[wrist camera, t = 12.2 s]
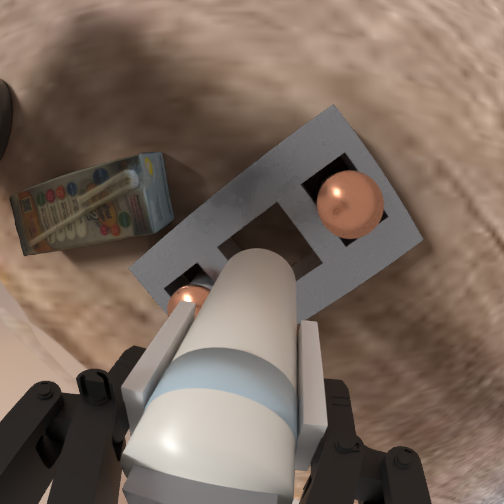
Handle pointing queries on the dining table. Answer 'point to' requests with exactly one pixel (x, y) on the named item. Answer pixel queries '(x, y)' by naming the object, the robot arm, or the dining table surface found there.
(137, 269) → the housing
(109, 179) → the beverage carton
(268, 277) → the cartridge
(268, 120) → the dining table surface
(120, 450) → the robot arm
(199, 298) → the plunger
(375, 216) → the plunger
